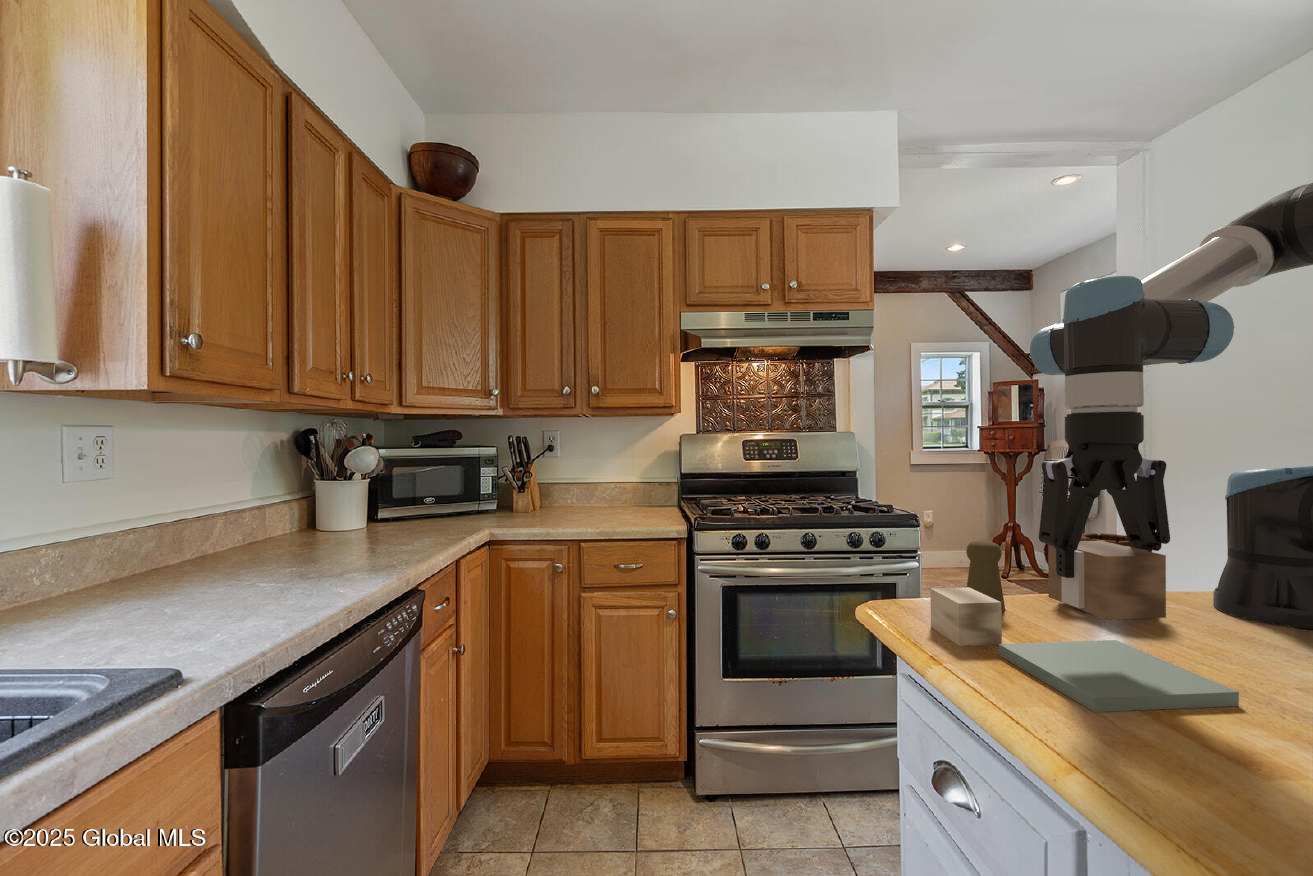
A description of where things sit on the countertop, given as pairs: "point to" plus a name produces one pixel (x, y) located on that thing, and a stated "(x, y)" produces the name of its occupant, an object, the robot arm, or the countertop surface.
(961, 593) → the maple cap block
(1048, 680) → the baseplate
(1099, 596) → the walnut brick
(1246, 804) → the countertop surface
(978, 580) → the olive pepper shaker
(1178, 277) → the robot arm
